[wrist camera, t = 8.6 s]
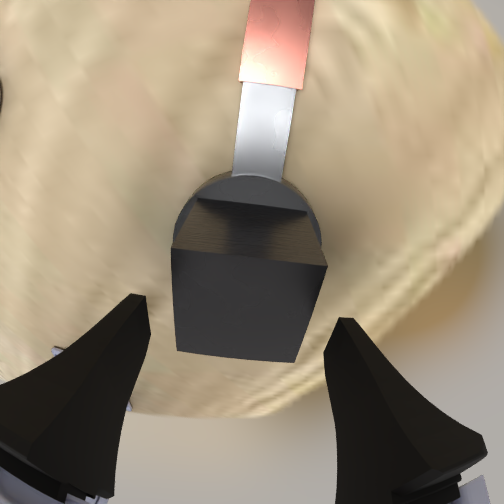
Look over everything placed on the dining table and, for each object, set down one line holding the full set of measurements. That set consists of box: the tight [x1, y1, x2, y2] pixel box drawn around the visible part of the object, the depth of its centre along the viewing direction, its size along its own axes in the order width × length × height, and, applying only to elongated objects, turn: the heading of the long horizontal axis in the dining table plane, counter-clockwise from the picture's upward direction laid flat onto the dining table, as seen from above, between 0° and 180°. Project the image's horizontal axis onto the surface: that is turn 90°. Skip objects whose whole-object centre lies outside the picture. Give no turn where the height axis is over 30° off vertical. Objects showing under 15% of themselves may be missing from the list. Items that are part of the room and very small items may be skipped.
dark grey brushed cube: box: [171, 198, 328, 363], centre depth 13 cm, size 5×5×5 cm
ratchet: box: [173, 0, 322, 247], centre depth 12 cm, size 20×8×4 cm, turn 173°
